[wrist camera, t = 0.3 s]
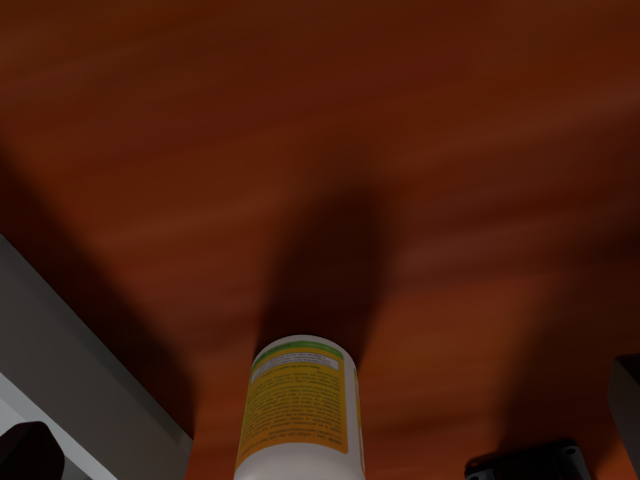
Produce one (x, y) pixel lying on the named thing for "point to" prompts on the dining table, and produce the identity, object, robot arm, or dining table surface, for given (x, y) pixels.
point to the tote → (78, 387)
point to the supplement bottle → (301, 414)
